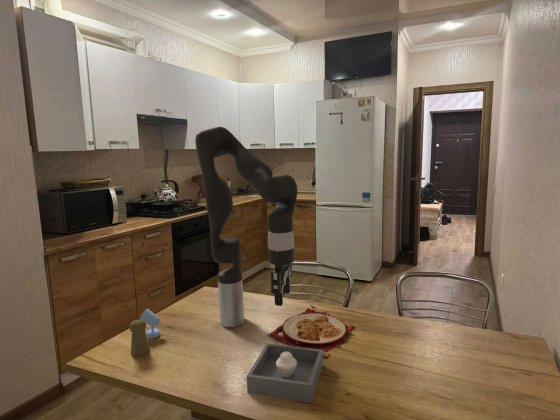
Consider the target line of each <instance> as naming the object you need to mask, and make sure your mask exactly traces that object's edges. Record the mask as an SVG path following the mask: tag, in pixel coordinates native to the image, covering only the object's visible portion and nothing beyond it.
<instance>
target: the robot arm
mask: <svg viewBox="0 0 560 420" xmlns="http://www.w3.org/2000/svg"><path fill="white" fill-rule="evenodd" d="M194 141H195V150H196V154H197V157H198V161H199V167H200V171H201V176H202V182H203V189H204V197H205V204H206V211H207V216H208V222H209V230H210V231H209V232H210V245H211V255H212V260H213V262H215V264H232V265H231V266H229V267H228V268H226V269H223V270H221V271H220V272H218V274H217V286H218V287H217V288H218V302H219V303H218V305H219V306H218V307H219V318H220V325H221V326H222V327H224V328H237V327H240V326H241V325H243V324H244V323H245V309H244V308H245V306H244V288H243V286H244V285H243V271H242V270H243V266H242V254H243V253H242V242H241V240H240V238H237V237H235V238H234V237H233V238H222V237H221V233H222V232H223V229H224V227H225V225H226V224H227V222H228V221H229V220H230V218H231V216H232V213H233V210H234V202H233V191H232V189H231V188H230V187H229V185H228V184H227V182H226V181H224V178H223V179H222V177H221V176H220V175H219V174H218V172H217V169H216V166H215V158H218V157H221V156H225V155H230V156H232V157H234V162H235V168H236V170H237V172H238V173H239V175H240V176H242V178H243V179H244V180H247V182H249V183H250V184H251V185H253V187H254V188H255V190H256V191H257V193H258V194H259V196H260V197H261V198H262V199H263V200H264V201H266V202H268V203H276V206H275V207H274V208H273V209H271V210H270V211H269V212H268V214H267V257H268V262H269V263H270V264H271V265H273V266H274V268H273V272H272V271H271V273H270V287H271V288H270V292H271V294H274V305H275V306H277V307H278V306H279V307H281V306H283V305H284V300H283V299H284V298H283V297H284V294H285V295H286V294H287V295H289V294H290V293H291V280H292V279H291V277H293V269H292V266H293V265H292V264H293V263H294V261H295V237H294V229H293V228H294V227H293V226H294V223H293V216H294V215H293V214H294V211H295V208H296V207H295V206H296V202H297V198H298V185H297V182H296V180H295V178H293V176H291V175H290V174H289V175H288V174H284V175H277V176H273V171H272V168H271V167H270V166H269V165H267V164H266V163H265V162H264V161H262V160H260V159H259V158H258V157H256V156H255V155H253V154H252V153H251V152H250V151H249V150H248V149H247V148H246V147H245V146H244V145H243V144H242V142H241V141H239V139H237V138H236V137H235V135H234V134H233V133H232V132H231V131H230V130H228V129H227V128H226V127H223V126H216V127H212V128H208V129H204V130H200V131H198V132H197V133H196V134H195V140H194Z"/></svg>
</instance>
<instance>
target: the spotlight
mask: <svg viewBox="0 0 560 420" xmlns="http://www.w3.org/2000/svg"><path fill="white" fill-rule="evenodd" d="M139 319H141V320H144V321H145V322H146V324H148V325H150V329H148V330H146V331H145V332H146V336H147V339H155V338H158V337H159V336H160V329H159V328H154V326H155V327H156V326H158V324H159V323H160V321H161V318H160V317H159V316H157V314H155V313H154V312H153V311H152V310H150V309H149V308H146V309H145V310H144V311H143V312H142V314H141V316H140V318H139Z"/></svg>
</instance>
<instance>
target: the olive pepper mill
mask: <svg viewBox="0 0 560 420" xmlns="http://www.w3.org/2000/svg"><path fill="white" fill-rule="evenodd" d="M146 329H147V323H146V322H145V321H144V320H141V319H140V318H139V319H135V320H132V321H131V322H130V324H129V330H130V332H131V341H130V355H131V356H132V357H135V358H136V357H142V356H143V357H144V356H145V355H147V354H148V353H150V350H151V349H150V345H149V341H148V338H147V334H146V332H147V331H146Z"/></svg>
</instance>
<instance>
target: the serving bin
mask: <svg viewBox="0 0 560 420" xmlns="http://www.w3.org/2000/svg"><path fill="white" fill-rule="evenodd" d="M283 352H290V353H291V354H292V356H293V358H294V359H296V361H297V366H296V369H295V371H294V373H293V375H292V376H291V377H287V378H286V377H283V376H282V375H281V374H280V372H279V371H278V369H277V367H276V361H277V360H278V359H279V358H280V355H281V353H283ZM323 354H324V351H323V350H319V349H314V348H313V349H312V348H310V347H309V348H302V347H299V346H293V345H285V344H274V343H269V342H268V343H266V344H265V346H264V347H263V349H262V351H261V352H260V353H259V356H258V357H257V358H256V360H255V362H254V363H253V365H252V366H251V368H250V370H249V372H248V373H247V374H246V390H247V391H246V392H247V394H252V395H253V394H254V395H259V396H265V397H266V396H267V397H274V398H279V399H285V400H291V401H297V402H298V401H299V402H303V403H304V402H305V403H313V399H314V398H315V397H314V396H315V394H316V393H315V392H316V389H317V387H318V384H319V380H320V376H321V374H322V371H323V366H324V357H323V356H324V355H323Z"/></svg>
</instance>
